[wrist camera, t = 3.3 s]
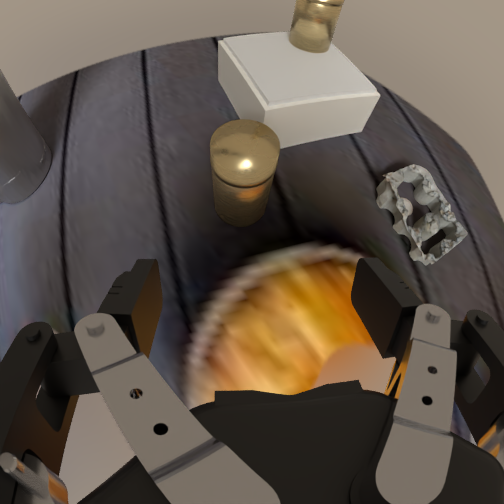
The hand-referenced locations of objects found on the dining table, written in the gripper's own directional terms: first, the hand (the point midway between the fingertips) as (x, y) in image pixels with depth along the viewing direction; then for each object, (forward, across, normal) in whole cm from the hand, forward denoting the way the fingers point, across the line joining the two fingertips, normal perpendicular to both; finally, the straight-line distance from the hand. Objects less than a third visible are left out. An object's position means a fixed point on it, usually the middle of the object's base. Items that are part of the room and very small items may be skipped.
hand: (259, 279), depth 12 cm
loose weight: (+18, 0, +2) cm, 18 cm away
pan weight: (+26, -8, -16) cm, 32 cm away
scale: (+29, -6, -8) cm, 31 cm away
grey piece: (+18, -19, +3) cm, 26 cm away
